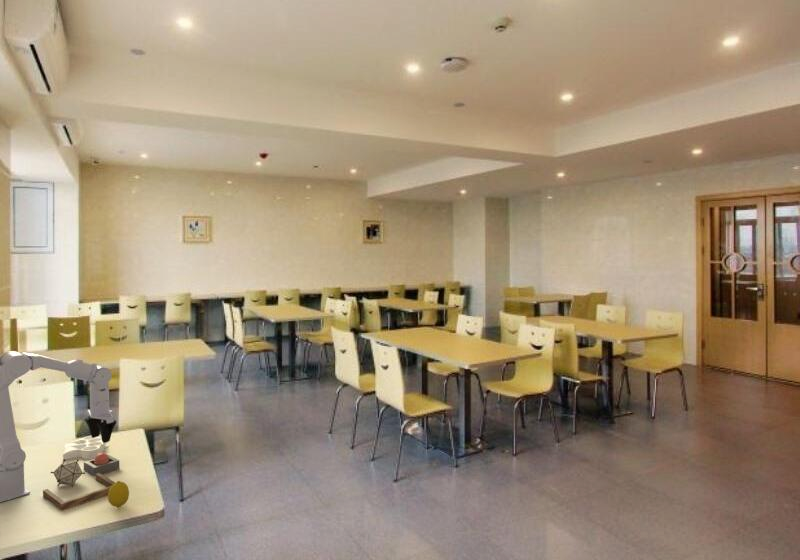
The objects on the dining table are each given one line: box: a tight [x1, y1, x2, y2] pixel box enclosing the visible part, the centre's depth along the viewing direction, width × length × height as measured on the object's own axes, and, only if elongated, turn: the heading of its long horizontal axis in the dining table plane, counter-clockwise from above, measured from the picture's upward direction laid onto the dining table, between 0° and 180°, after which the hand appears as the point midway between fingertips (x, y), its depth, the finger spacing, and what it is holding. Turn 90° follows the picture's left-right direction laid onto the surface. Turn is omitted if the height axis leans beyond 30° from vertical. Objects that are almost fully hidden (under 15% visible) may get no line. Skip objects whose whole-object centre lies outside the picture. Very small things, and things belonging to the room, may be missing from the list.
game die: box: [49, 458, 86, 488], centre depth 172 cm, size 9×8×10 cm
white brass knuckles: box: [62, 435, 109, 460], centre depth 201 cm, size 3×18×15 cm
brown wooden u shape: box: [42, 473, 116, 511], centre depth 166 cm, size 16×14×2 cm
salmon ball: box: [93, 452, 109, 466], centre depth 184 cm, size 4×4×4 cm
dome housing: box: [83, 454, 120, 477], centre depth 184 cm, size 8×8×3 cm
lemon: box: [107, 480, 130, 509], centre depth 157 cm, size 6×6×8 cm
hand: (100, 439), depth 184 cm, fingers open, 7 cm apart
